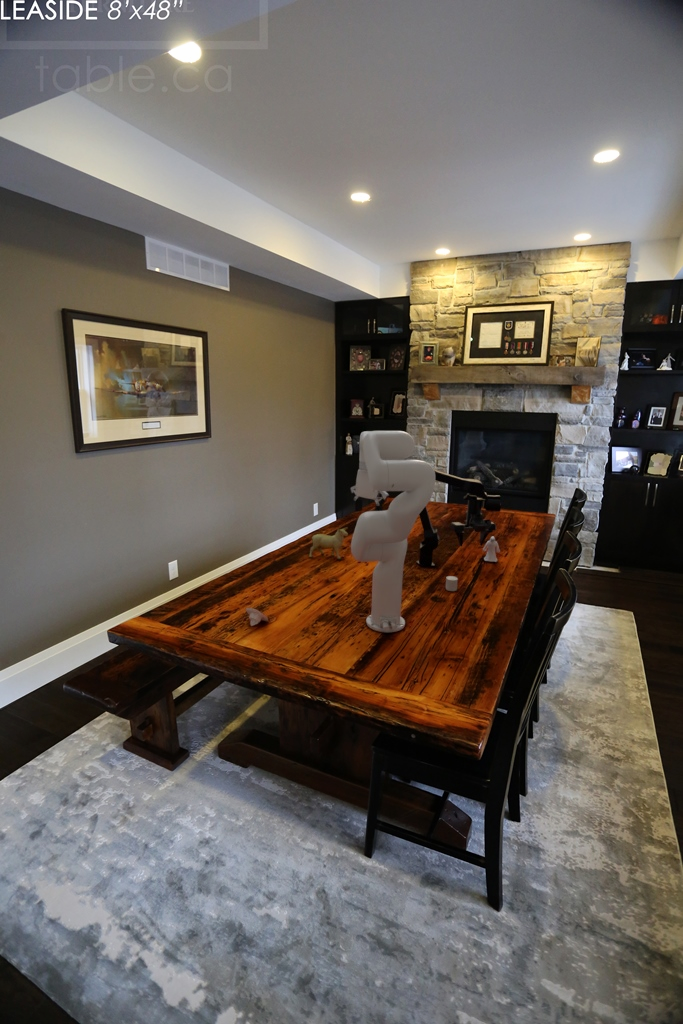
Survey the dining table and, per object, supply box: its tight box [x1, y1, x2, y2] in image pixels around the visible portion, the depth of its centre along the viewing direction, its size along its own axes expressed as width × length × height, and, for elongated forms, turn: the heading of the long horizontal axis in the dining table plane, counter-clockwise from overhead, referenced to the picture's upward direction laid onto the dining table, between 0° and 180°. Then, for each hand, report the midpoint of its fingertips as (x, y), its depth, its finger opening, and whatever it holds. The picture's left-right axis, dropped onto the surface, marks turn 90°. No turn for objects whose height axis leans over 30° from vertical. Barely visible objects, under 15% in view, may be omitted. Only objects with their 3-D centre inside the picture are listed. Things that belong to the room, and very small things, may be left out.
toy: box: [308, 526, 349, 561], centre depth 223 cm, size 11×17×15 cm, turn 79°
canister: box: [445, 575, 459, 592], centre depth 192 cm, size 4×4×4 cm
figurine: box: [482, 535, 501, 563], centre depth 223 cm, size 8×8×12 cm
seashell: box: [245, 607, 269, 627], centre depth 160 cm, size 8×5×8 cm
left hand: (368, 513), depth 181 cm, fingers open, 9 cm apart
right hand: (471, 545), depth 213 cm, fingers open, 9 cm apart
